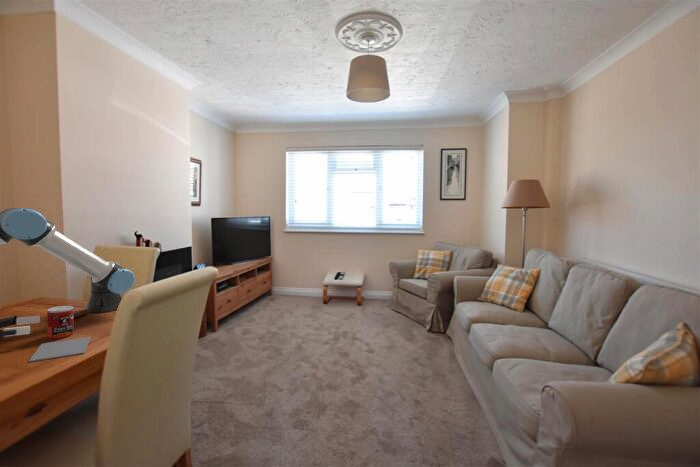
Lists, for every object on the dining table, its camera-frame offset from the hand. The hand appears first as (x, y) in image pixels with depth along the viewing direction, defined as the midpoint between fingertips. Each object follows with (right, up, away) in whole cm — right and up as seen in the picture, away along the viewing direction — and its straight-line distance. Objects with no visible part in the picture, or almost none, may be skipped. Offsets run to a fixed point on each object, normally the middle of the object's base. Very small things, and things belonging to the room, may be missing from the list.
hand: (35, 324), depth 122 cm
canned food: (+6, -6, +5) cm, 10 cm away
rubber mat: (+17, -7, -7) cm, 20 cm away
